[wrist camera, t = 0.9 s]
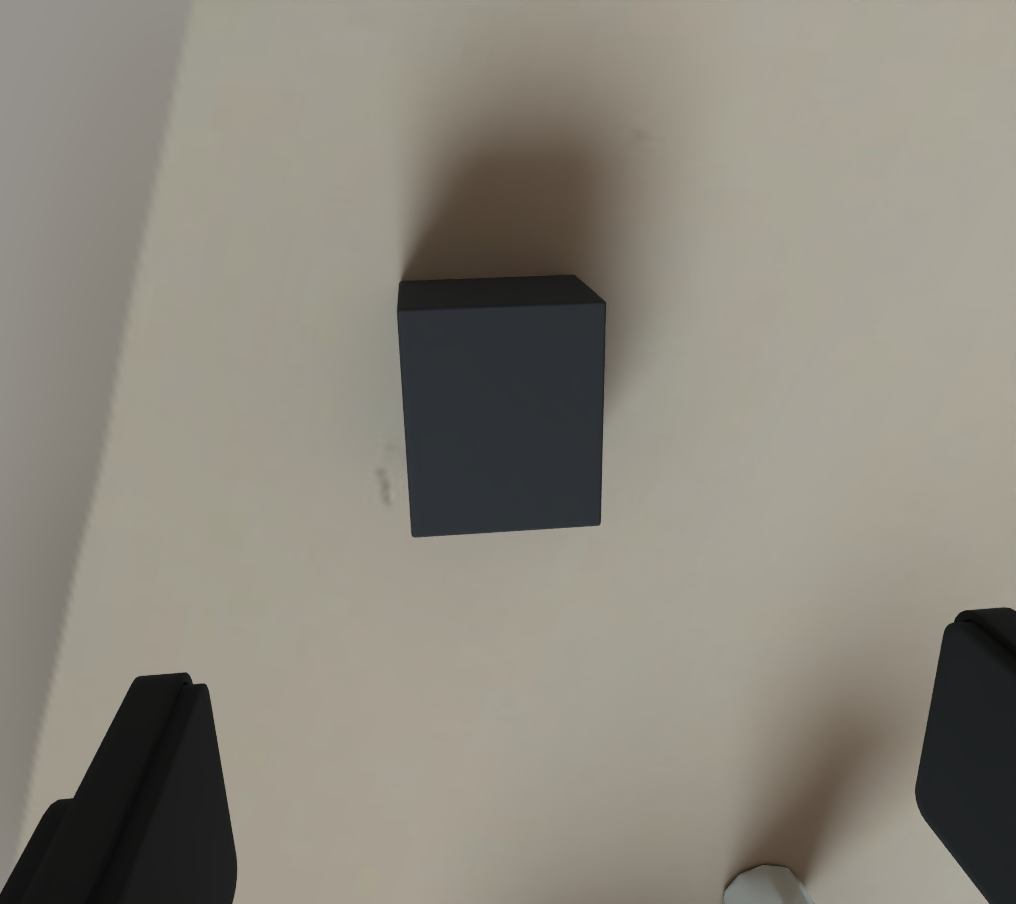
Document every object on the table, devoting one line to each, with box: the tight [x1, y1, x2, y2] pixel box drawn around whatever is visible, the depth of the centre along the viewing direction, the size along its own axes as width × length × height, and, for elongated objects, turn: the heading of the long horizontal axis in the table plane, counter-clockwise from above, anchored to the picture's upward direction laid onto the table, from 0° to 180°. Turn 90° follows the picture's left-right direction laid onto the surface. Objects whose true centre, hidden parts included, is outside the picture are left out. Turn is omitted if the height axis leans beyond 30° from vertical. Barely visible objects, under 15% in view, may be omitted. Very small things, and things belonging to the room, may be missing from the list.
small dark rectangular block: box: [397, 275, 606, 537], centre depth 23 cm, size 6×5×4 cm
